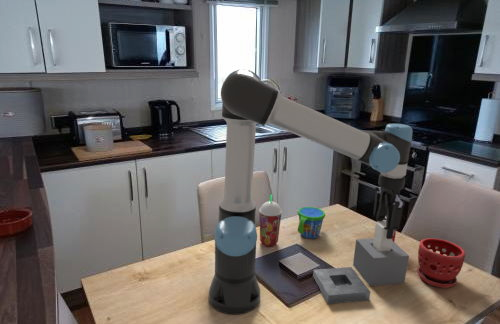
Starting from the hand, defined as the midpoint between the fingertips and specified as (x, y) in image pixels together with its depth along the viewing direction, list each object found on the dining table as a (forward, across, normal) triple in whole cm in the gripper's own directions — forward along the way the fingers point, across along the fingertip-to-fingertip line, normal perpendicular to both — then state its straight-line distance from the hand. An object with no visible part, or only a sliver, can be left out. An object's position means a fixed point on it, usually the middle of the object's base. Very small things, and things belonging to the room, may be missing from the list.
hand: (382, 242), depth 117 cm
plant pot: (+12, -5, -18) cm, 22 cm away
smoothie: (+12, +24, +32) cm, 42 cm away
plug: (+4, 0, 0) cm, 4 cm away
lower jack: (+12, -6, +16) cm, 21 cm away
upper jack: (+12, 0, 0) cm, 12 cm away
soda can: (+12, +16, -11) cm, 23 cm away
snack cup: (+12, +29, +14) cm, 34 cm away
